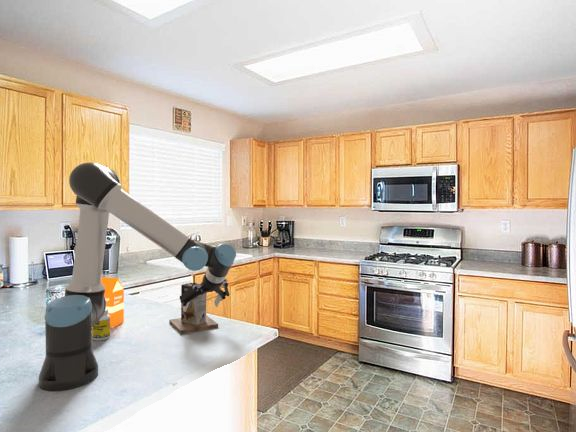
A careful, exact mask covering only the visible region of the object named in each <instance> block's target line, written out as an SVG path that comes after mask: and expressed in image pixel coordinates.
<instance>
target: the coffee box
mask: <svg viewBox="0 0 576 432" xmlns="http://www.w3.org/2000/svg"><path fill="white" fill-rule="evenodd" d="M193 283H194V282H189V283H183V284H181V288H180V289H181V290H180V292H181V293H180V294H181V295H182V294H183V293H184V292H185V291H187V290H188V289H189V288H190V287H191V286H192V285H193ZM195 283H196V284H197V285H199V284H200V283H197V282H195ZM207 293H208V292H207ZM207 293H204V294H203V295H199V296H197V297H196V298H194V299H192V300H191V301H189V305H188V308H187V310H186V312H184V311H183V307H182V306H183V305H182V303H181V302H180V313H181V314H180V318H181V322H184V323H188V324H192V325H199V324H201V323H204V322H206V315H207ZM181 295H180V296H181Z"/></svg>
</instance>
